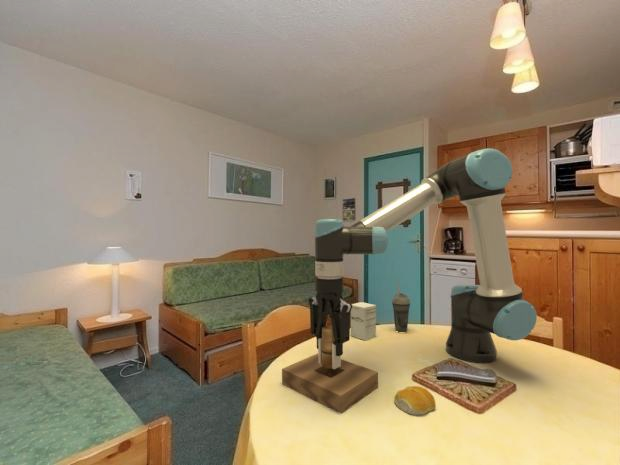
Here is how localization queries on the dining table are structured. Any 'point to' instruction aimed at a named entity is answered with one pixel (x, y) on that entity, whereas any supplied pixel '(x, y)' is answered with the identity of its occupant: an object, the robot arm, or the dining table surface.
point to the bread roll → (415, 400)
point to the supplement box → (363, 320)
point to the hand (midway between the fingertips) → (329, 364)
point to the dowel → (327, 346)
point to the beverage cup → (401, 311)
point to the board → (330, 382)
